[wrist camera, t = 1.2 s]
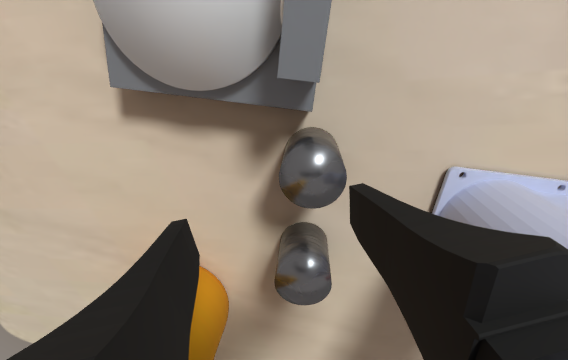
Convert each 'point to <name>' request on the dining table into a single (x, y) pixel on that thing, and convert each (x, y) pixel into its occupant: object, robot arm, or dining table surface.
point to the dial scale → (218, 48)
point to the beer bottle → (208, 317)
